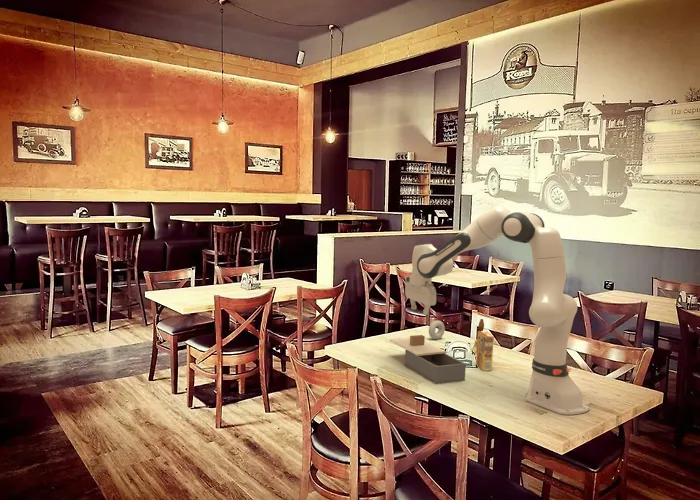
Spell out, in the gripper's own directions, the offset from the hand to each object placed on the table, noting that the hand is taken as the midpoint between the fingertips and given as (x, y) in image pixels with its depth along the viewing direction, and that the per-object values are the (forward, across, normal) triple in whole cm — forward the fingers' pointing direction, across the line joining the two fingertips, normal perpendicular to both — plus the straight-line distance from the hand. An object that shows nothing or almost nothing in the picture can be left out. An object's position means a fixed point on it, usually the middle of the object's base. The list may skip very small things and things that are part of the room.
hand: (419, 311), depth 235 cm
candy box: (+23, -15, -25) cm, 37 cm away
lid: (+16, 0, 0) cm, 16 cm away
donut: (+23, +31, -31) cm, 50 cm away
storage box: (+23, -14, 0) cm, 27 cm away
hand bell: (+23, +6, -39) cm, 46 cm away
